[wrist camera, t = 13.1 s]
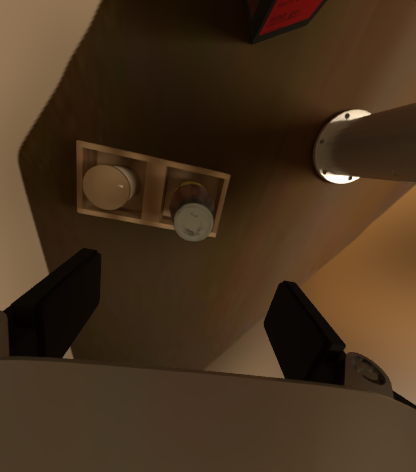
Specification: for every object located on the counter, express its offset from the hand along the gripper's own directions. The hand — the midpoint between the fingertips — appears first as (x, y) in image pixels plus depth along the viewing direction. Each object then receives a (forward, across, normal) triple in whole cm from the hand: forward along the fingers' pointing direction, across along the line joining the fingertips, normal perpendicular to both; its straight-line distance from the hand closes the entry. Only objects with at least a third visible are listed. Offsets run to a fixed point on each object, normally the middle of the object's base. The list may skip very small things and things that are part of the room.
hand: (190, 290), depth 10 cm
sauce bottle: (+30, +1, 0) cm, 30 cm away
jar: (+30, +13, 0) cm, 32 cm away
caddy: (+30, +7, 0) cm, 31 cm away
